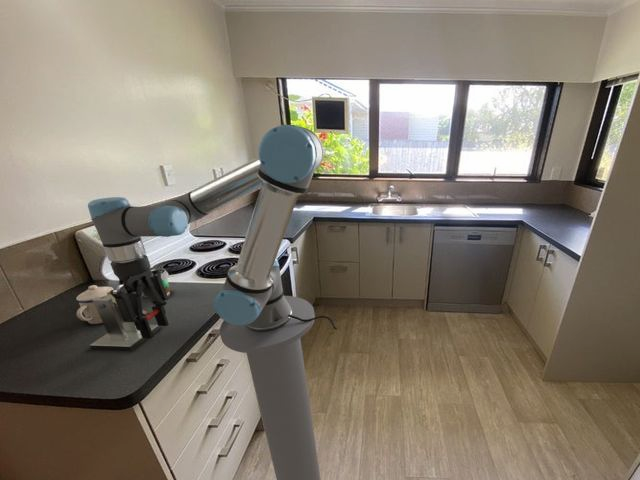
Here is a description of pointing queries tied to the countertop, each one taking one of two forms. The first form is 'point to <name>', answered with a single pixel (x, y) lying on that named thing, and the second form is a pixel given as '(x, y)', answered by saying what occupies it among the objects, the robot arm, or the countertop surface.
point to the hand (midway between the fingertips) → (156, 330)
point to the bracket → (117, 328)
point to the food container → (164, 280)
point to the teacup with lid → (91, 303)
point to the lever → (145, 313)
